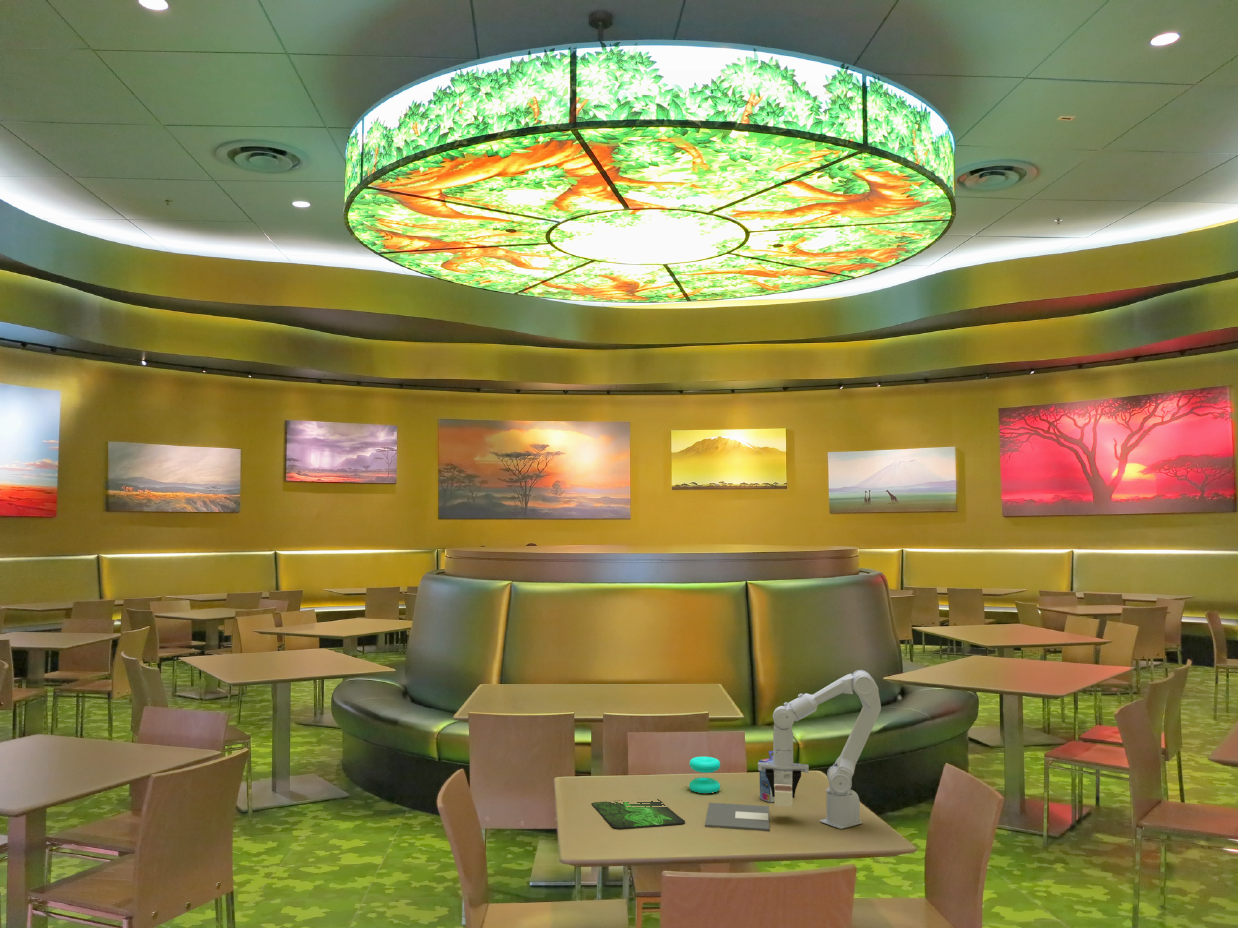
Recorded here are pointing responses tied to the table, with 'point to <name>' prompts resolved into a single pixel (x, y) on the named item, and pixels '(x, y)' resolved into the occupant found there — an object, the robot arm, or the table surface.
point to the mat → (738, 816)
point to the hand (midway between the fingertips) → (783, 796)
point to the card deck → (783, 795)
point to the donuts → (705, 767)
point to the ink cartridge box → (779, 778)
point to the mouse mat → (637, 814)
